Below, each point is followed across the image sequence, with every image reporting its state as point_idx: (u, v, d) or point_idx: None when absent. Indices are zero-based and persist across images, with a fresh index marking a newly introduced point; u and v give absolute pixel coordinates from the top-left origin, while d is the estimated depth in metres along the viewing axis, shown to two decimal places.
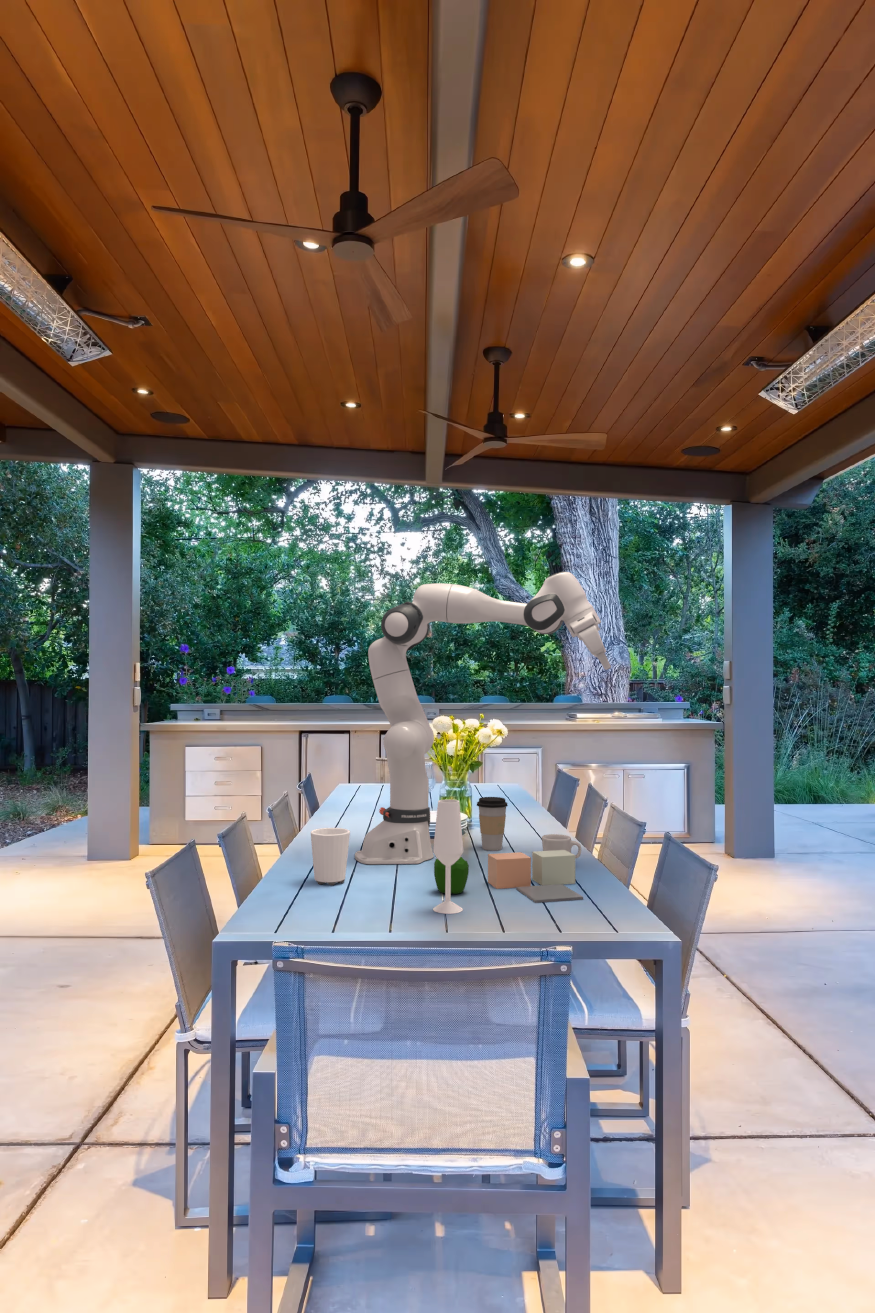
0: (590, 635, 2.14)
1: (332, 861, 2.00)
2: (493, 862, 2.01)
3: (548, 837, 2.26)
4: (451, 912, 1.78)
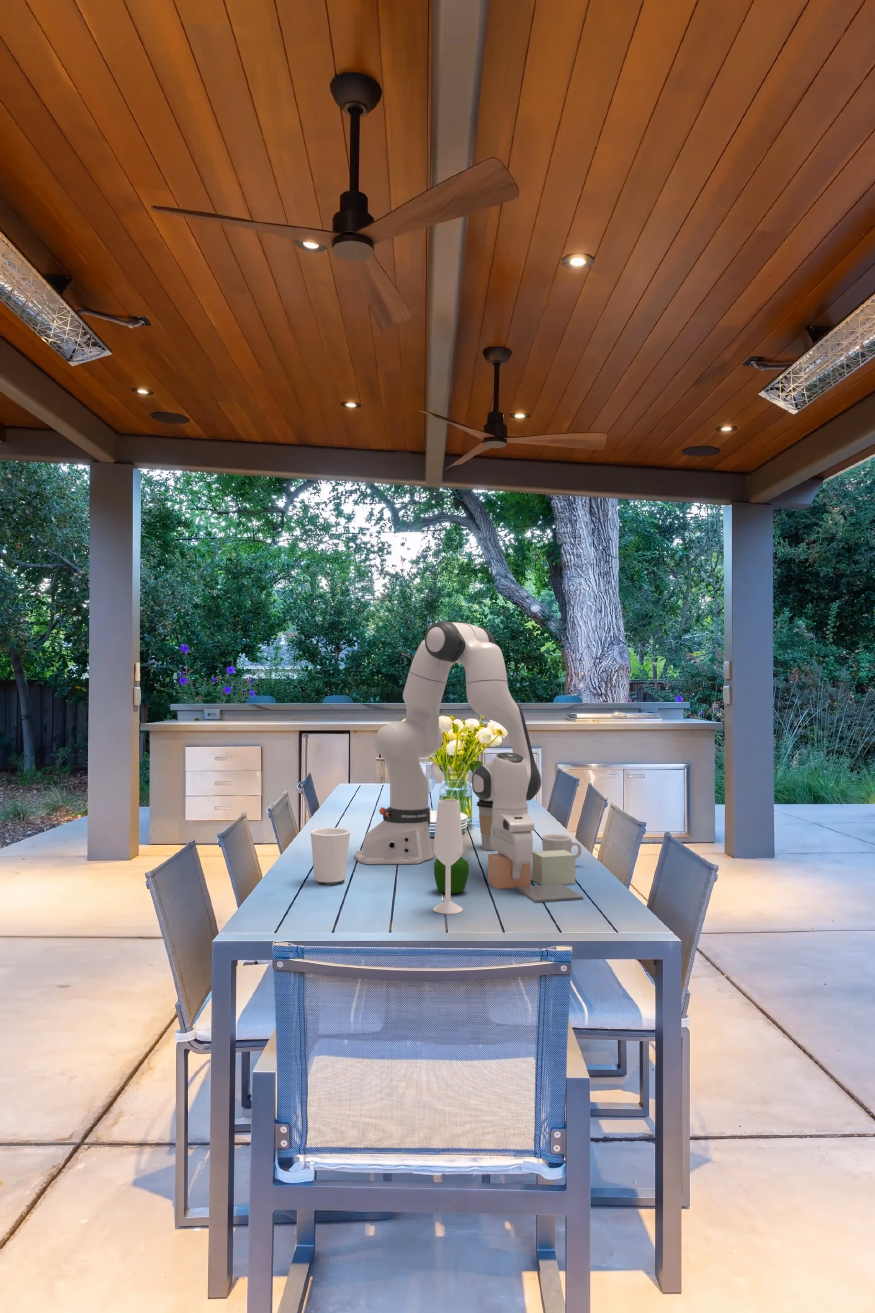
0: (525, 843, 1.94)
1: (332, 861, 2.00)
2: (493, 862, 2.01)
3: (548, 837, 2.26)
4: (451, 912, 1.78)
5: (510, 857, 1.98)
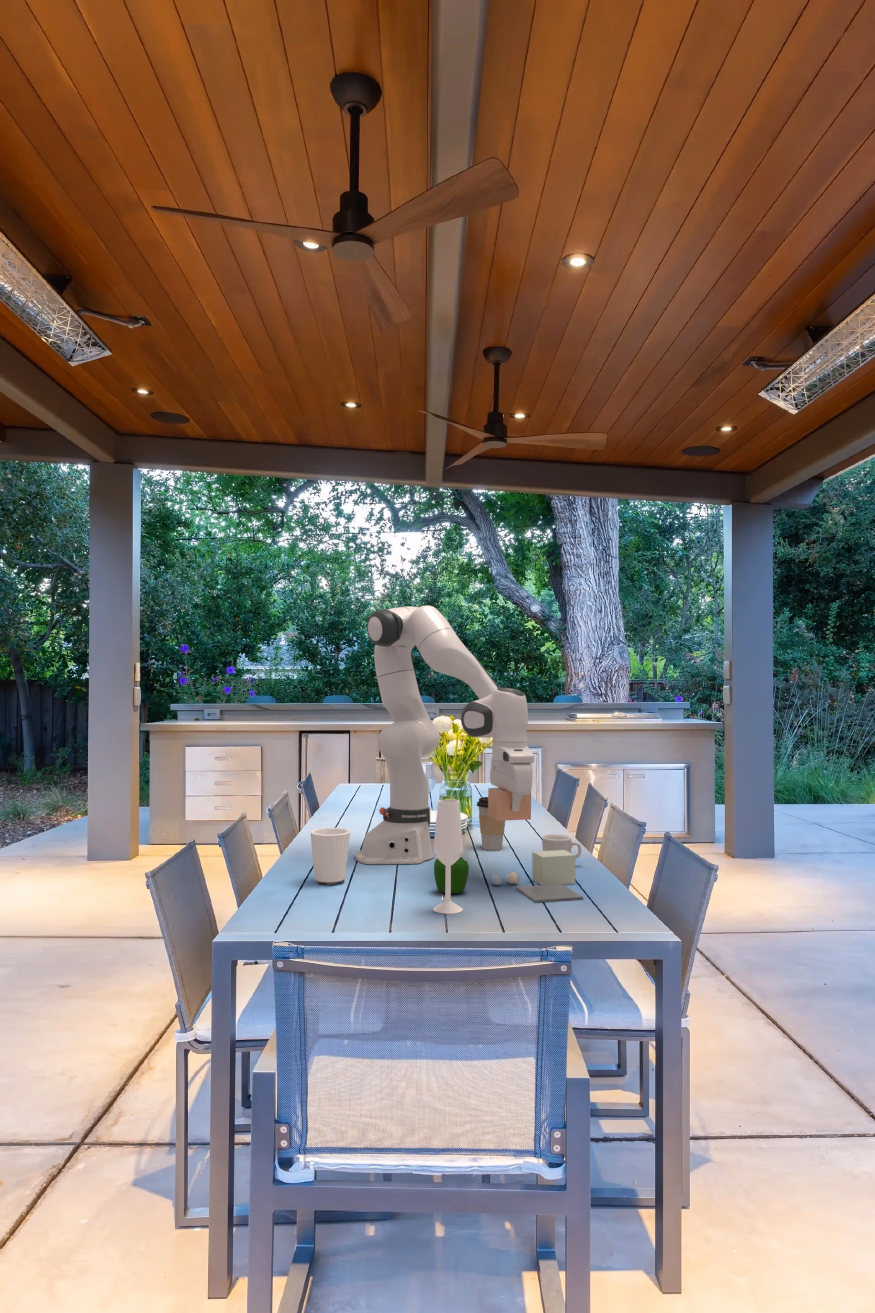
0: (525, 774, 1.95)
1: (332, 861, 2.00)
2: (493, 795, 2.02)
3: (548, 837, 2.26)
4: (451, 912, 1.78)
5: (510, 789, 1.98)
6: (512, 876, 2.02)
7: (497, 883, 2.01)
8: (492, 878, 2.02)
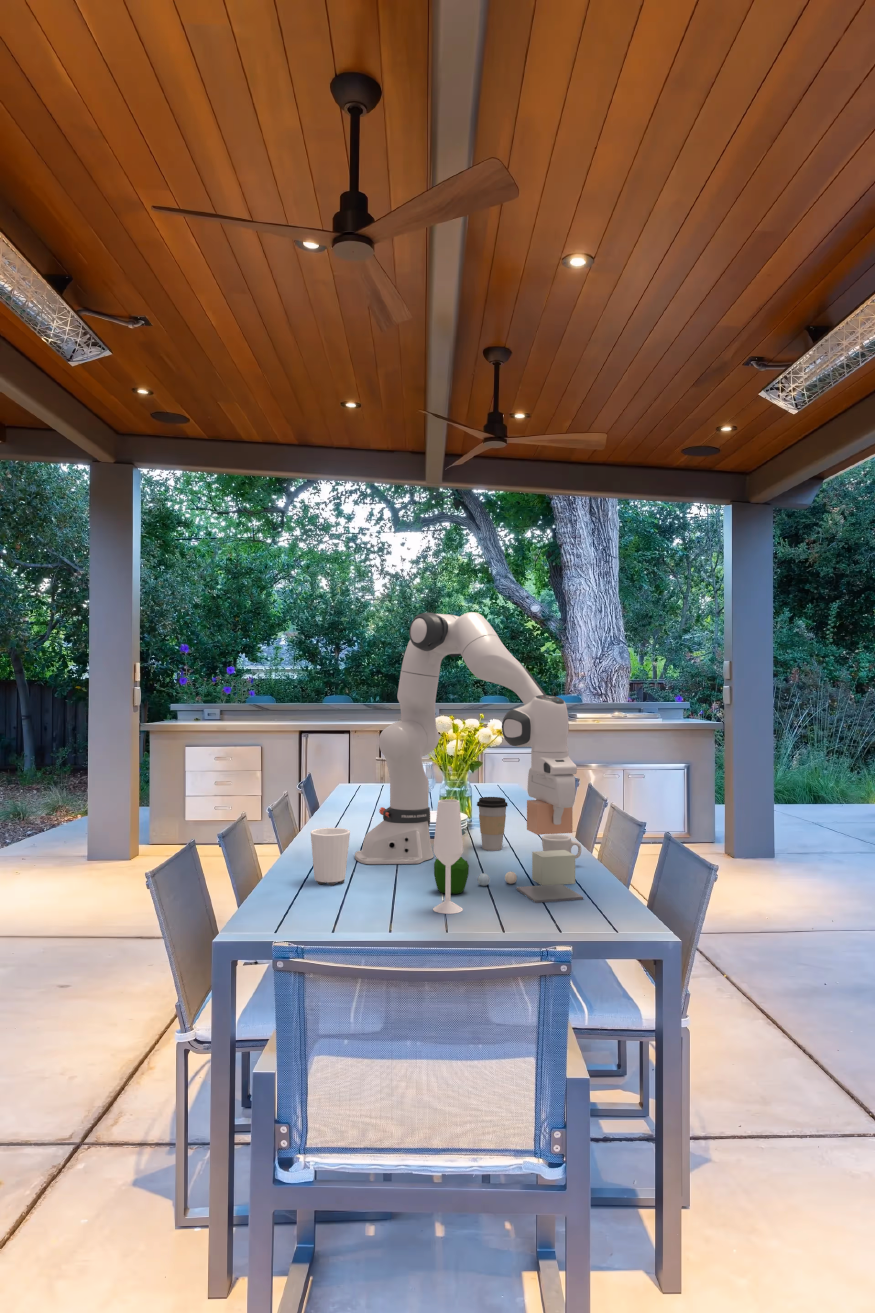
0: (567, 786, 1.86)
1: (332, 861, 2.00)
2: (533, 807, 1.93)
3: (548, 837, 2.26)
4: (451, 912, 1.78)
5: (551, 802, 1.89)
6: (509, 876, 2.03)
7: (487, 879, 2.01)
8: None
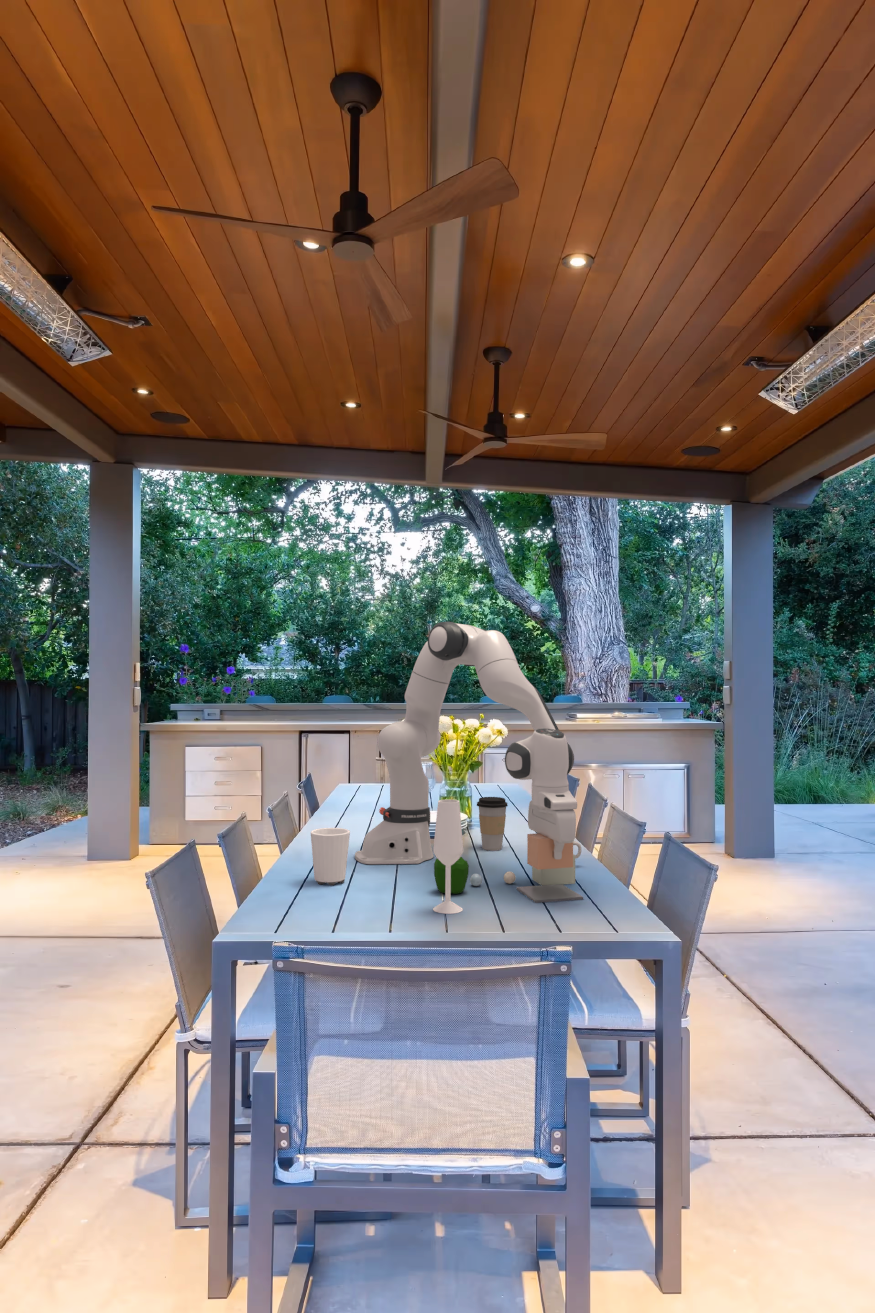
0: (568, 821, 1.85)
1: (332, 861, 2.00)
2: (533, 842, 1.93)
3: None
4: (451, 912, 1.78)
5: (552, 837, 1.89)
6: (507, 875, 2.03)
7: (476, 878, 2.00)
8: (481, 880, 2.01)
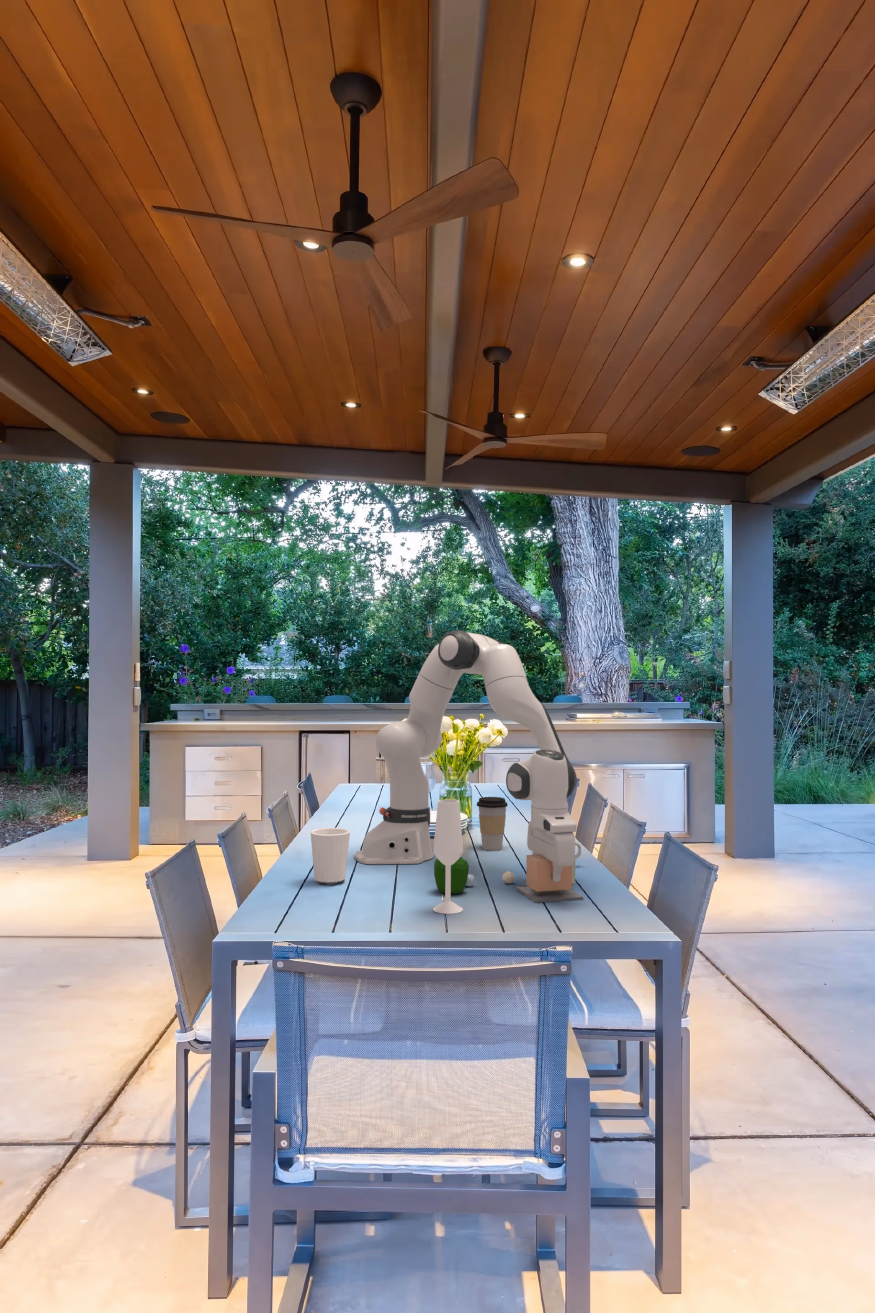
0: (567, 844, 1.85)
1: (332, 861, 2.00)
2: (532, 863, 1.93)
3: None
4: (451, 912, 1.78)
5: (551, 859, 1.89)
6: (506, 875, 2.03)
7: (467, 881, 2.00)
8: (471, 875, 2.00)
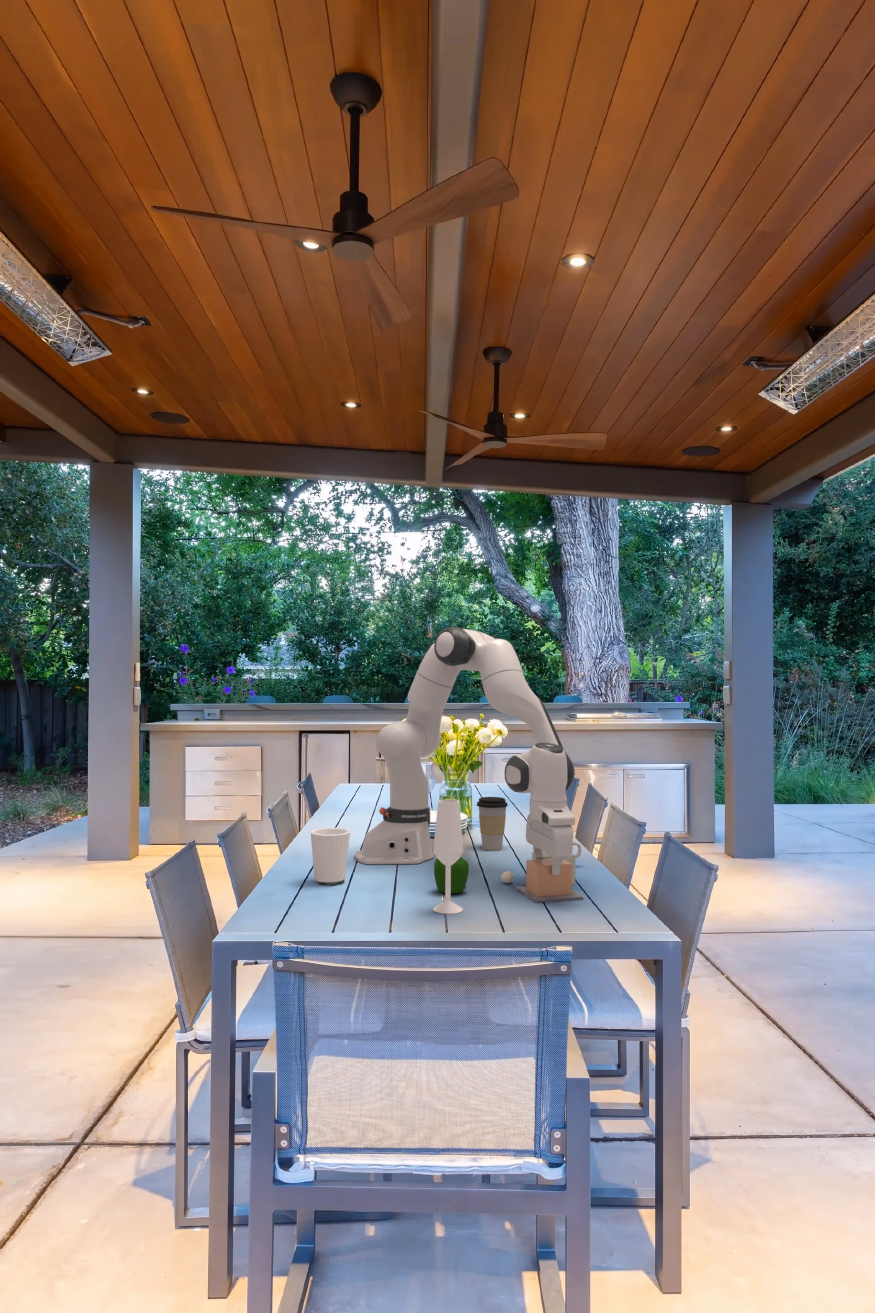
0: (565, 837, 1.85)
1: (332, 861, 2.00)
2: (532, 868, 1.92)
3: None
4: (451, 912, 1.78)
5: (549, 852, 1.89)
6: (504, 875, 2.03)
7: None
8: None
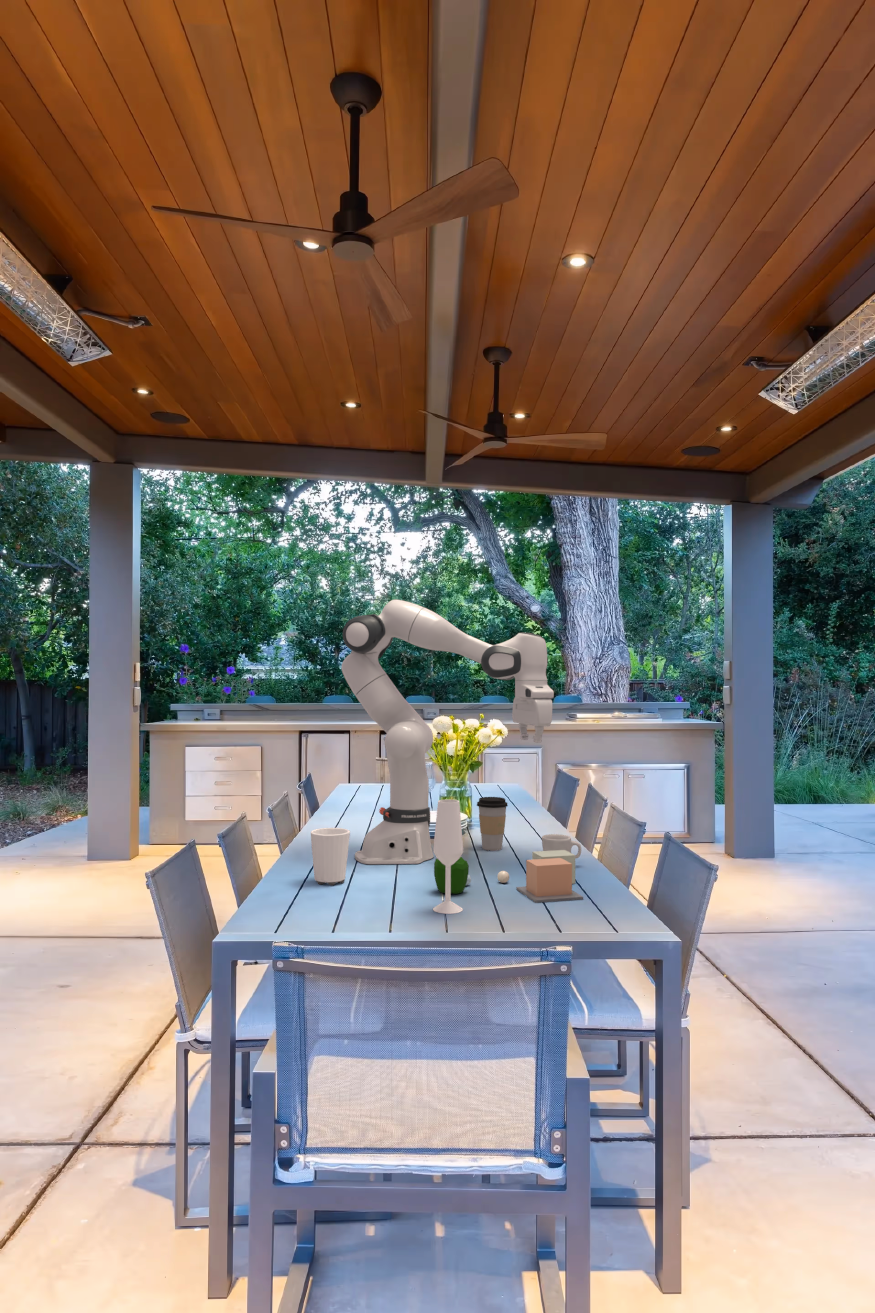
0: (545, 707, 2.16)
1: (332, 861, 2.00)
2: (532, 868, 1.92)
3: (548, 837, 2.26)
4: (451, 912, 1.78)
5: (532, 722, 2.19)
6: (499, 876, 2.04)
7: None
8: None
